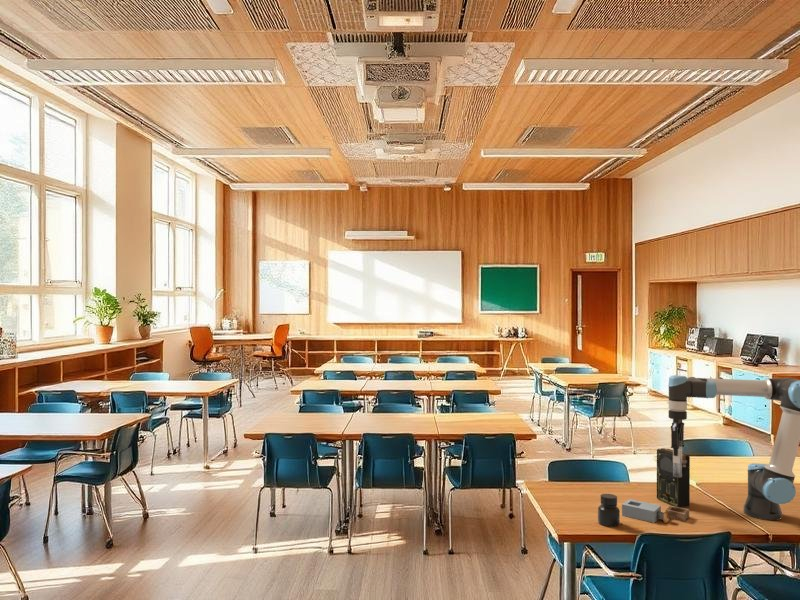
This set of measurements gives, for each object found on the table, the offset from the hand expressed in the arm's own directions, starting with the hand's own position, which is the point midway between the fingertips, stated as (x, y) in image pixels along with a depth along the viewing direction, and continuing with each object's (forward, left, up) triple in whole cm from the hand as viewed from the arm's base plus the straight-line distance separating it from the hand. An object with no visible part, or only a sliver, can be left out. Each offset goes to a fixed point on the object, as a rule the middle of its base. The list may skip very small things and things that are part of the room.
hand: (677, 461), depth 264 cm
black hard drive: (+7, -20, -25) cm, 33 cm away
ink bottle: (+21, +28, -25) cm, 43 cm away
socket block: (+13, +9, -25) cm, 30 cm away
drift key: (+6, +9, -25) cm, 27 cm away
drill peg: (0, 0, -7) cm, 7 cm away
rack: (0, 0, -25) cm, 25 cm away
